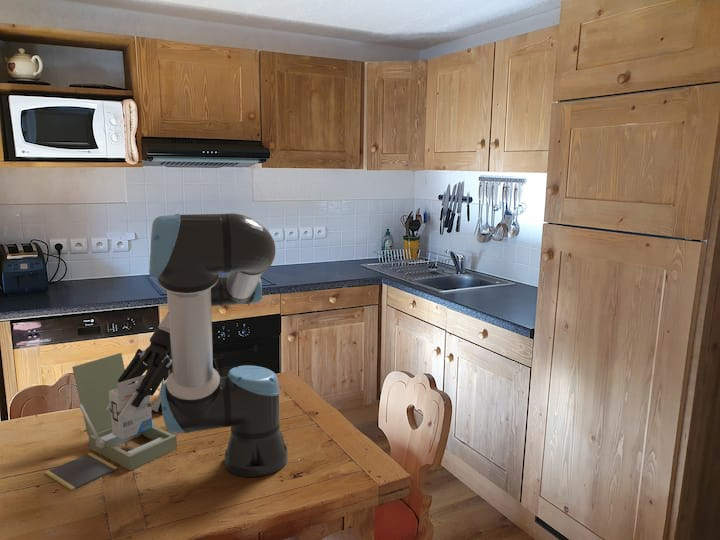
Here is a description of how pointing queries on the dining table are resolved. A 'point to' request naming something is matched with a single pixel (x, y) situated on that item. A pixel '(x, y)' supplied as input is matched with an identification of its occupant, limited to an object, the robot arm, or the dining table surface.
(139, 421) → the ink box
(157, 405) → the white black curved block
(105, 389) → the case
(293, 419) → the dining table surface
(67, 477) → the mat
